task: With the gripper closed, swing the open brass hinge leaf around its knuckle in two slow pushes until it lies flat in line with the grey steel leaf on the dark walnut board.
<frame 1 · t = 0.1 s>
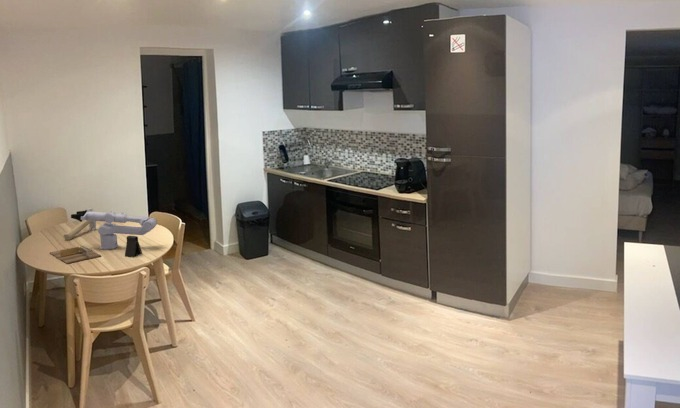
hand: (73, 214, 344), 22 cm above the table, tool horizontal, fingers open, 7 cm apart
steel leaf: (83, 251, 331), on the walnut board, point 3 cm above the table
hammer: (81, 235, 378), on the table
walnut board: (80, 254, 335), on the table
phone stand: (133, 255, 335), on the table
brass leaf: (71, 251, 331), point 3 cm above the table, hinge at 90.0°
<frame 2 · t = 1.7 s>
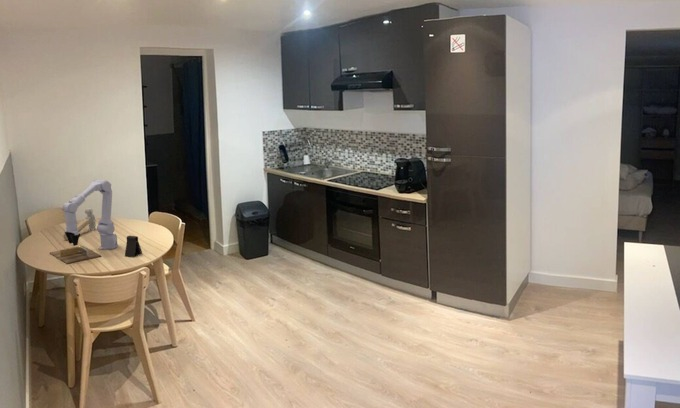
hand: (73, 244, 327), 8 cm above the table, tool pointing down, fingers open, 6 cm apart
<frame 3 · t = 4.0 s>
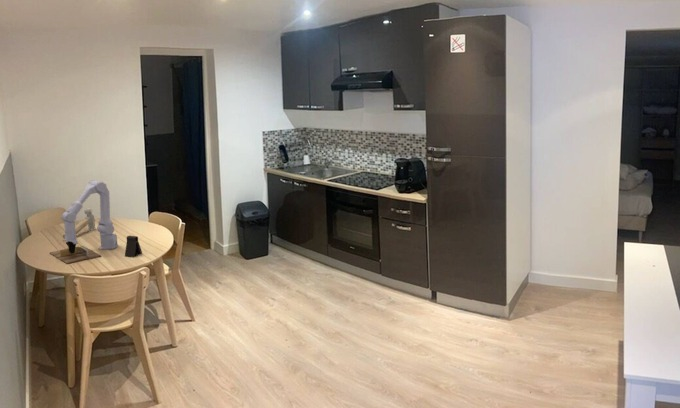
hand: (72, 253, 331), 2 cm above the table, tool pointing down, fingers closed, pressing on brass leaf
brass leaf: (71, 251, 331), point 3 cm above the table, hinge at 89.6°, touching gripper
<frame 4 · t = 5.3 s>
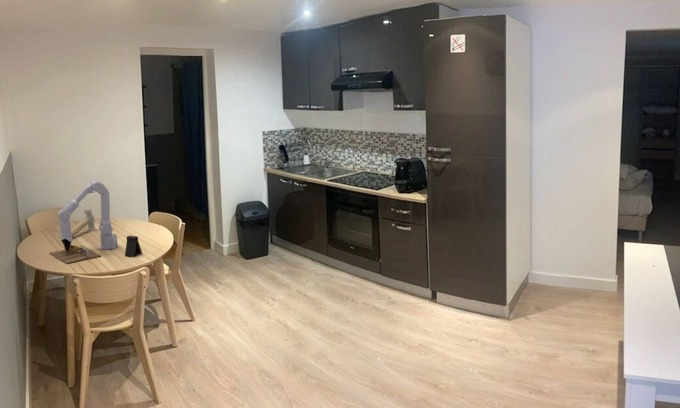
hand: (67, 250, 335), 2 cm above the table, tool pointing down, fingers closed
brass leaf: (73, 248, 337), point 3 cm above the table, hinge at 22.8°, touching gripper
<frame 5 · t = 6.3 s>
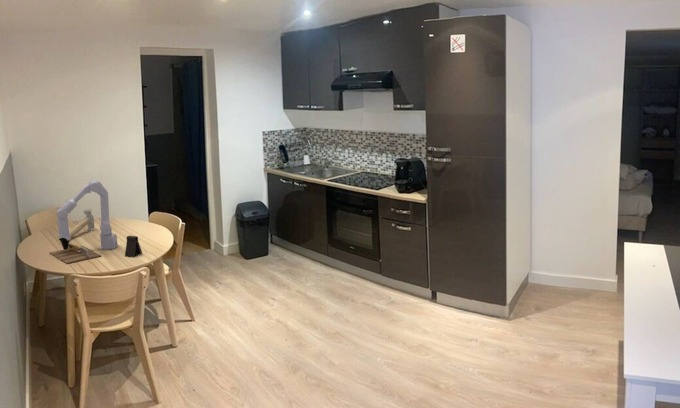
hand: (65, 249, 338), 2 cm above the table, tool pointing down, fingers closed
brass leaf: (74, 248, 337), point 3 cm above the table, hinge at 15.0°, touching gripper
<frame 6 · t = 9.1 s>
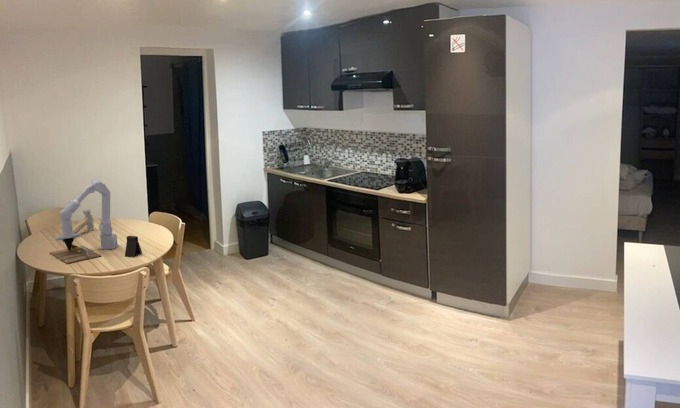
hand: (69, 249, 337), 2 cm above the table, tool pointing down, fingers closed
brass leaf: (74, 248, 337), point 3 cm above the table, hinge at 14.5°, touching gripper
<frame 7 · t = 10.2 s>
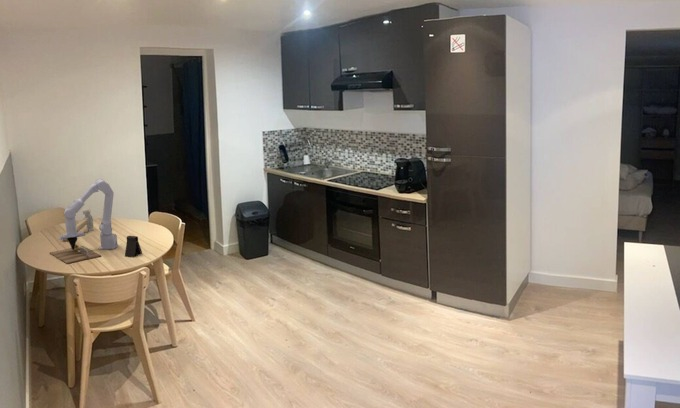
hand: (73, 248, 338), 2 cm above the table, tool pointing down, fingers closed
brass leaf: (76, 247, 338), point 3 cm above the table, hinge at -0.2°, touching gripper
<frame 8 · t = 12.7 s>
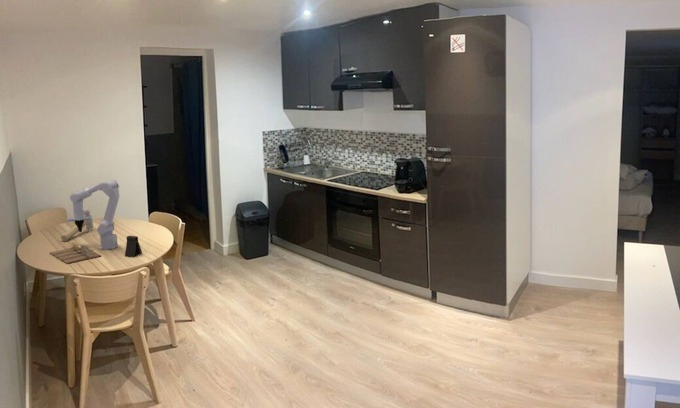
hand: (80, 231, 351), 9 cm above the table, tool pointing down, fingers closed
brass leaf: (76, 247, 338), point 3 cm above the table, hinge at -1.9°
at the end: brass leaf at -2° (first picture: +90°); the gripper is holding nothing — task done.
